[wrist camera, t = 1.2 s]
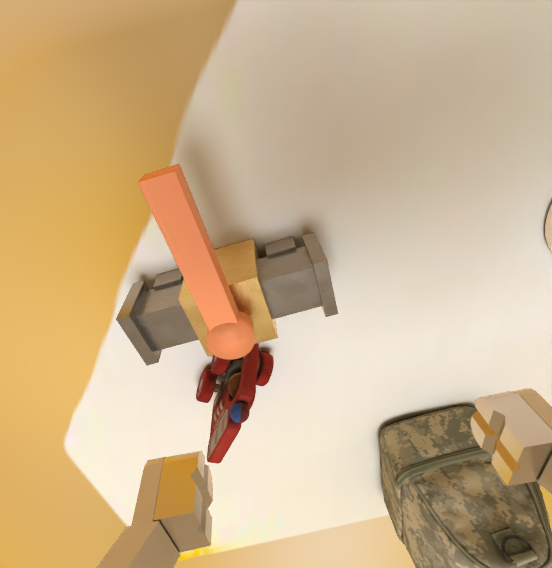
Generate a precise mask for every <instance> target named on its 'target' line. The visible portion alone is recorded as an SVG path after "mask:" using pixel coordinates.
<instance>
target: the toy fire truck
mask: <svg viewBox="0 0 552 568" xmlns="http://www.w3.org/2000/svg"><path fill="white" fill-rule="evenodd" d="M272 370H273V357H272V355H271V354H268V353H265V352H260V353H259V344H258V343H257V344H254V346H253V348H252V350H251V351H250V352H249V353H248V354H247V355H245V356H243V357H241V358H238V359H232V360H228V359H222V358H219V357H216V356H215V355H214V356H213V359H212V364H211V369H205V370H204V371H203V373H202V375H201V378H200V381H199V384H198V388H197V394H196V399H197V400H198V401H200V402H205V403H207V402H209V401H210V399H211V397H212V394H213V392H218V393H217V395H216V398H215V400H214V404H213V413H212V422H211V433H210V440H209V445H208V453H207V461H208V462H211V463H220V462H221V461H222V459H223V457H224V456H225V454H226V452H227V451H228V449H229V448H230V446H231V444H232V442H233V441H234V439H235V437H236V436H237V434H238V432H239V430H240V428H241V423H242V422H244V421H246V420H247V418H248V416H249V410H250V408H251V406H252V404H253V401H254V398H255V393H256V386H255V385H259V386H264V385H266V384H267V383H268V381H269V379H270V376H271V374H272ZM225 373H226V378H225V380H224V381H223V382H222V383H221V385H220V384H216V379H217V374H218V375H224V374H225Z"/></svg>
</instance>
